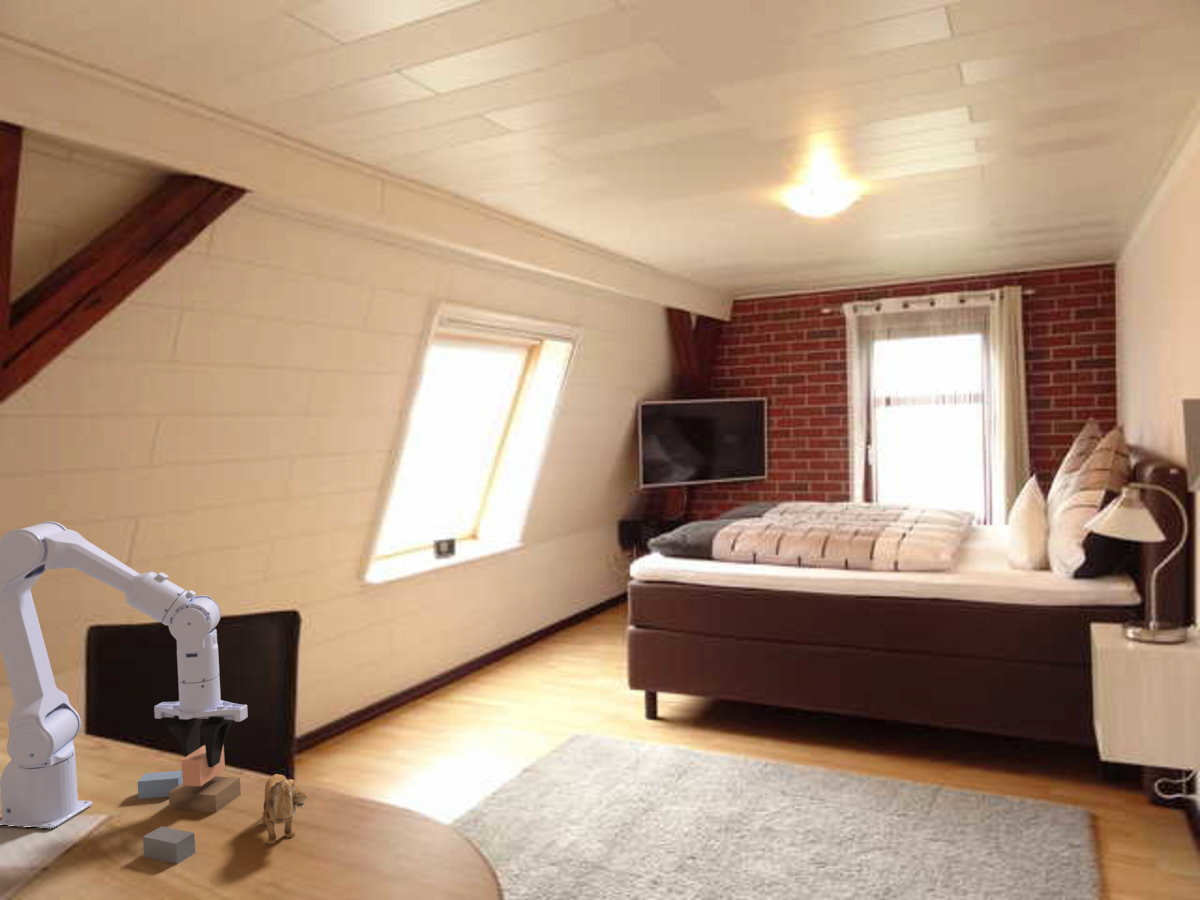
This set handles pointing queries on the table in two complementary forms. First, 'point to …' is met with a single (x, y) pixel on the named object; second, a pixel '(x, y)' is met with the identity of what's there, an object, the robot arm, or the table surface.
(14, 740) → the robot arm
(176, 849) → the gray brick
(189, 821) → the table surface
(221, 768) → the terracotta brick
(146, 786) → the slate-blue brick
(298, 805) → the lion figurine
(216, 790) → the walnut block
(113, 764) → the table surface
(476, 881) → the table surface
